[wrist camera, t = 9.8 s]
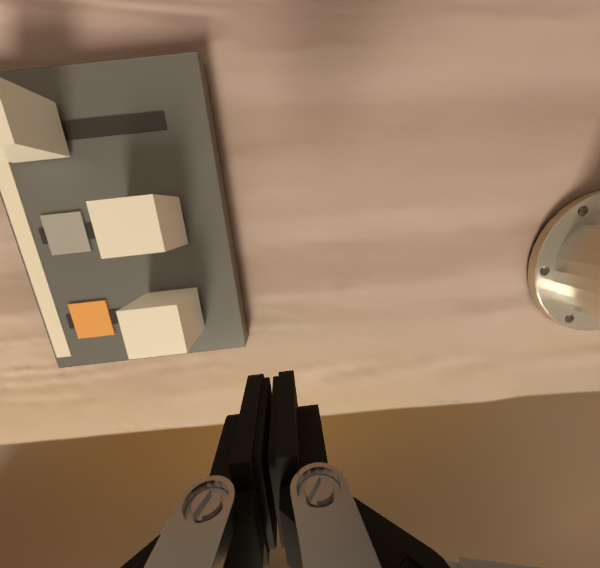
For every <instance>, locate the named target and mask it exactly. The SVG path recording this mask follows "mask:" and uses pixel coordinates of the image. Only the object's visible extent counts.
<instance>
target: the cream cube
mask: <svg viewBox="0 0 600 568" xmlns="http://www.w3.org/2000/svg"><path fill="white" fill-rule="evenodd" d="M116 314H117V318H118V321H119V325H120V329H121V332H122V336H123V340H124V343H125V347H126V351H127V354H128V358H129V360H130V359H139V358H147V357H156V356H165V355H174V354H182V353H188V351H189V350H190V348H191V347H192V345H193V344H194V343H195V341H196V340H197V338H198V337H199V335H200V334H201V333H202V331H203V330H204V328H205V325H204V320H203V315H202V310H201V305H200V300H199V295H198V290H197V287H194V288H186V289H177V290H168V291H159V292H150V293H146V294H144V295H143V296H141V297H139V298H138V299H136V300H134V301H133V302H131V303H129V304H128V305H126V306H124V307H123V308H121V309H119V310H117V311H116Z"/></svg>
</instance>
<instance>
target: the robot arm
mask: <svg viewBox="0 0 600 568" xmlns="http://www.w3.org/2000/svg"><path fill="white" fill-rule="evenodd" d="M528 286H529V290H530V293H531V297H532V299H533V301H534V302H535V304H536V306H537V307H538V309H539V310H540V311H541V312H542V313H543V314H544V315H545V316H546V317H548V318H549V319H551V320H552V321H554V322H556V323H558V324H561V325H563V326H565V327H568V328H572V329H576V330H585V331H592V330H600V190H599V191H595V192H592V193H589V194H586V195H584V196H582V197H580V198H578V199H576V200H574V201H572V202H571V203H569V204H568V205H567V206H565V207H564V208H563V209H561V210H560V211H559V212H558V213H557V214H556V215H555V216H554V217H553V218H552V219H551V220H550V221H549V222H548V223H547V225H546V226H545V228H544V229H543V230H542V232H541V233H540V235H539V237H538V239H537V241H536V243H535V245H534V246H533V250H532V253H531V256H530V259H529V266H528ZM277 522H278V528H279V534H280V540H281V547H282V548H285V551H286V557H287V563H288V565H289V566H290V567H291V568H540V567H533V566H525V565H517V564H510V563H502V562H495V561H487V560H480V559H471V558H465V557H458V562H452V561H445V560H444V559H443V558H442V557H441V556H439V554H437V553H436V552H435V551H434V550H432V549H431V548H429V547H428V546H427V545H425V544H424V543H422V542H421V541H419V540H417V539H416V538H414V537H413V536H412V535H410V534H409V533H407V532H405V531H404V530H402V529H401V528H399V527H398V526H396V525H395V524H393V523H392V522H390V521H389V520H387V519H386V518H384V517H383V516H381V515H380V514H378V513H377V512H375V511H374V510H372V509H371V508H369V507H368V506H366V505H365V504H363V503H362V502H360V501H359V500H357V499H356V498H354V497H353V496H352V493H351V491H350V488H349V486H348V483H347V481H346V478H345V477H344V475H343V473H342V472H341V471H340V470H339V469H338V468H337V467H335V466H333V465H331V464H328V462H327V456H326V450H325V444H324V438H323V432H322V426H321V420H320V414H319V408H318V404H317V405H309V406H301V407H298V403H297V395H296V387H295V379H294V372H293V370H292V371H284V372H279V376H275V377H273V389H272V391H271V384H270V378H269V377H267V378H264V375H263V374H259V375H250V376H248V378H247V383H246V387H245V392H244V396H243V401H242V405H241V410H240V414H235V415H228V416H227V417H226V420H225V423H224V427H223V431H222V434H221V438H220V441H219V445H218V448H217V452H216V455H215V459H214V462H213V466H212V469H211V473H210V476H208V477H205V478H202V479H200V480H198V481H196V482H195V483H193V484H192V485H191V486H190V487H189V488H187V489H186V490H185V491H184V493H183V494H182V496H181V497H180V499H179V500H178V502H177V504H176V506H175V508H174V510H173V512H172V514H171V516H170V518H169V520H168V522H167V523H166V525H165V527H164V529H163V531H162V533H161V534H160V535H159V536H158V537H156V538H155V539H154V540H153V541H152V542H151V543H149V544H148V545H147V546H146V547H145V548H143V549H142V550H141V551H140V552H139V553H138V554H136V555H135V556H134V557H133V558H131V559H130V560H129V561H128V562H127V563H126V564H124V565H123V566H122V567H121V568H263V566H265V565H269V551H270V549H276V543H277Z"/></svg>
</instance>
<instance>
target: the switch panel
mask: <svg viewBox="0 0 600 568" xmlns="http://www.w3.org/2000/svg"><path fill="white" fill-rule="evenodd" d="M0 77H1V78H3V79H5V80H7V81H10V82H12V83H14V84H16V85H18V86H21V87H23V88H25V89H27V90H29V91H31V92H34V93H36V94H38V95H40V96H42V97H45V98H47V99H49V100H51V101H53V102H55V103H56V107H57V110H58V114H59V118H60V121H61V125H62V129H63V132H64V136H65V139H66V143H67V147H68V150H69V154H70V157H65V158H56V159H46V160H37V161H28V162H18V163H11V162H5V161H0V196H1V199H2V202H3V205H4V207H5V210H6V213H7V216H8V219H9V222H10V225H11V228H12V231H13V234H14V237H15V240H16V243H17V246H18V249H19V252H20V255H21V258H22V260H23V263H24V266H25V269H26V272H27V275H28V278H29V281H30V284H31V287H32V290H33V293H34V296H35V299H36V302H37V305H38V308H39V311H40V313H41V316H42V319H43V322H44V325H45V328H46V331H47V334H48V337H49V340H50V343H51V346H52V349H53V352H54V355H55V358H56V361H57V364H58V366H59V368H64V367H72V366H81V365H90V364H98V363H107V362H116V361H125V360H129V358H128V354H127V351H126V347H125V343H124V340H123V336H122V332H121V329H120V325H119V321H118V318H117V314H116V311H117V310H119V309H121V308H123V307H124V306H126V305H128V304H129V303H131V302H133V301H134V300H136V299H138V298H139V297H141V296H143V295H144V294H146V293H150V292H159V291H168V290H177V289H186V288H194V287H197V290H198V295H199V300H200V305H201V310H202V315H203V320H204V325H205V328H204V330H203V331H202V333H201V334H200V335H199V337H198V338H197V340H196V341H195V343H194V344H193V345H192V347H191V348H190V350H189V351H188V353H194V352H203V351H212V350H220V349H229V348H238V347H245V346H246V343H247V340H248V331H247V325H246V319H245V313H244V306H243V300H242V294H241V288H240V282H239V275H238V269H237V263H236V257H235V250H234V244H233V238H232V232H231V226H230V219H229V213H228V207H227V201H226V195H225V188H224V182H223V176H222V170H221V164H220V157H219V151H218V145H217V139H216V133H215V126H214V120H213V114H212V108H211V101H210V95H209V89H208V83H207V77H206V70H205V65H204V63H203V61H202V60H201V58H200V56H199V55H198V53H197V52H187V53H177V54H168V55H158V56H148V57H139V58H129V59H119V60H110V61H100V62H90V63H81V64H71V65H61V66H52V67H42V68H32V69H23V70H13V71H3V72H0ZM149 194H156V195H166V196H175V197H179V199H180V204H181V209H182V215H183V220H184V225H185V230H186V235H187V240H188V244H186V245H183V246H181V247H178V248H175V249H172V250H169V251H166V252H160V253H151V254H142V255H133V256H124V257H115V258H106V259H101V255H100V252H99V248H98V244H97V241H96V237H95V233H94V230H93V226H92V223H91V219H90V215H89V212H88V208H87V204H86V201H94V200H103V199H112V198H121V197H131V196H140V195H149ZM182 354H186V353H182ZM174 355H177V354H174ZM165 356H168V355H165ZM156 357H159V356H156ZM147 358H151V357H147ZM139 359H142V358H139ZM130 360H133V359H130Z"/></svg>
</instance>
